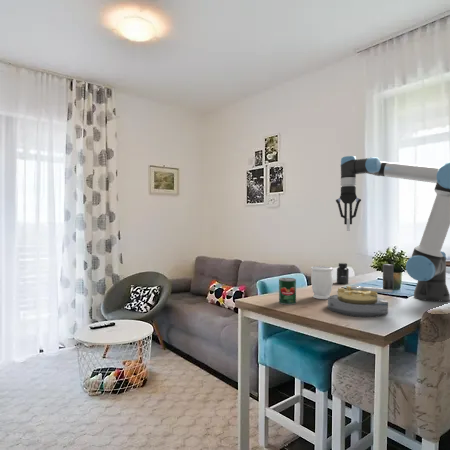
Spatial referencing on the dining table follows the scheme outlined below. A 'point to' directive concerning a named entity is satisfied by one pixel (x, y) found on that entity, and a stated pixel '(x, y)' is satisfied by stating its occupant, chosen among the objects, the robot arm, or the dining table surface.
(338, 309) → the grey serving platter
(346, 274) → the supplement bottle
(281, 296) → the canned tomato
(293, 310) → the dining table surface
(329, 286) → the jar
